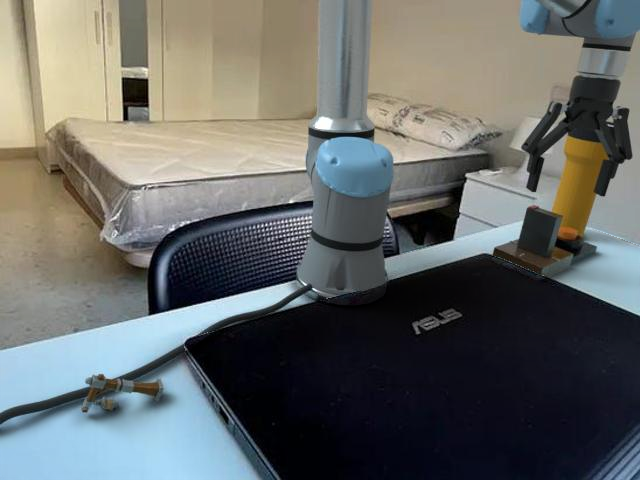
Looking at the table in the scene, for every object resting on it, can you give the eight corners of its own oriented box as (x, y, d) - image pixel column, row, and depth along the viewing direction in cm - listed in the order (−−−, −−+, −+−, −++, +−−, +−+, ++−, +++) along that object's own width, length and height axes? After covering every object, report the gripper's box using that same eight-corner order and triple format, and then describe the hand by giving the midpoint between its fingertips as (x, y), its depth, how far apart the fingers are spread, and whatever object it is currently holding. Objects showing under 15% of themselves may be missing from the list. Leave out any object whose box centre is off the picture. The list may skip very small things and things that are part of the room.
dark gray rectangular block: (551, 255, 95) (563, 214, 92) (545, 257, 94) (557, 216, 90) (523, 243, 99) (533, 204, 96) (516, 245, 98) (527, 206, 95)
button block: (570, 265, 99) (575, 249, 98) (529, 248, 105) (533, 233, 104) (595, 253, 106) (600, 238, 104) (554, 238, 112) (558, 224, 111)
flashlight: (566, 114, 111) (613, 119, 109) (536, 223, 121) (579, 228, 120) (580, 121, 101) (632, 127, 100) (547, 238, 112) (594, 244, 110)
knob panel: (538, 282, 90) (543, 267, 89) (490, 261, 98) (493, 246, 96) (570, 267, 98) (574, 253, 96) (522, 248, 105) (526, 235, 104)
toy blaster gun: (71, 404, 52) (87, 368, 51) (146, 409, 57) (161, 376, 56) (73, 416, 51) (89, 378, 50) (149, 420, 55) (165, 386, 55)
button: (570, 242, 102) (573, 234, 101) (553, 236, 104) (556, 228, 104) (578, 239, 104) (581, 231, 103) (562, 233, 107) (564, 225, 106)
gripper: (651, 79, 92) (615, 190, 100) (520, 69, 90) (494, 182, 98) (680, 84, 85) (639, 202, 93) (538, 72, 83) (509, 194, 91)
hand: (565, 192), depth 96 cm, fingers open, 13 cm apart
